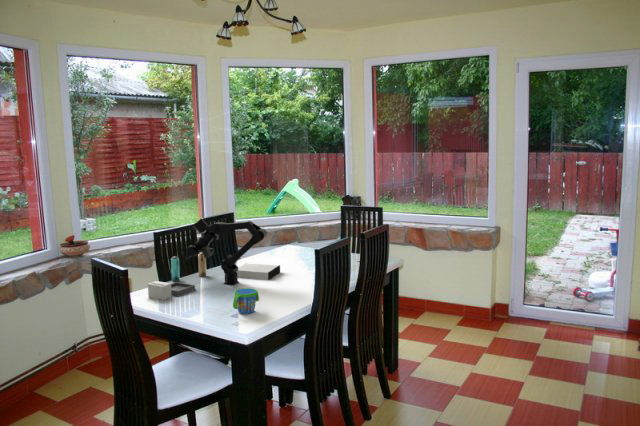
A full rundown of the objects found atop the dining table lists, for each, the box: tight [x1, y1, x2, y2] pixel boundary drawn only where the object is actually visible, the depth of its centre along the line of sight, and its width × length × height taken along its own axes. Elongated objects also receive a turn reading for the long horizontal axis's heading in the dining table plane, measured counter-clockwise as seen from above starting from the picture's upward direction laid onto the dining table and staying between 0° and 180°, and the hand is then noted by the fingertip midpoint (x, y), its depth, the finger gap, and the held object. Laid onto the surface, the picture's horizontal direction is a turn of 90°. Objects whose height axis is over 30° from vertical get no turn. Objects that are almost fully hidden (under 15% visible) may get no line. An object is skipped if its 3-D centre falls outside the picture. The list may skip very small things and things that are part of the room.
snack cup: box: [232, 287, 260, 315], centre depth 240 cm, size 16×10×10 cm
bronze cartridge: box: [197, 252, 207, 278], centre depth 303 cm, size 4×4×14 cm
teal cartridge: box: [170, 255, 181, 283], centre depth 293 cm, size 4×4×14 cm
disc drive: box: [236, 262, 281, 281], centre depth 307 cm, size 18×22×5 cm
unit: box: [147, 280, 173, 301], centre depth 263 cm, size 10×6×7 cm, turn 63°
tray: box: [171, 281, 196, 297], centre depth 273 cm, size 13×13×3 cm
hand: (188, 257), depth 291 cm, fingers open, 7 cm apart
